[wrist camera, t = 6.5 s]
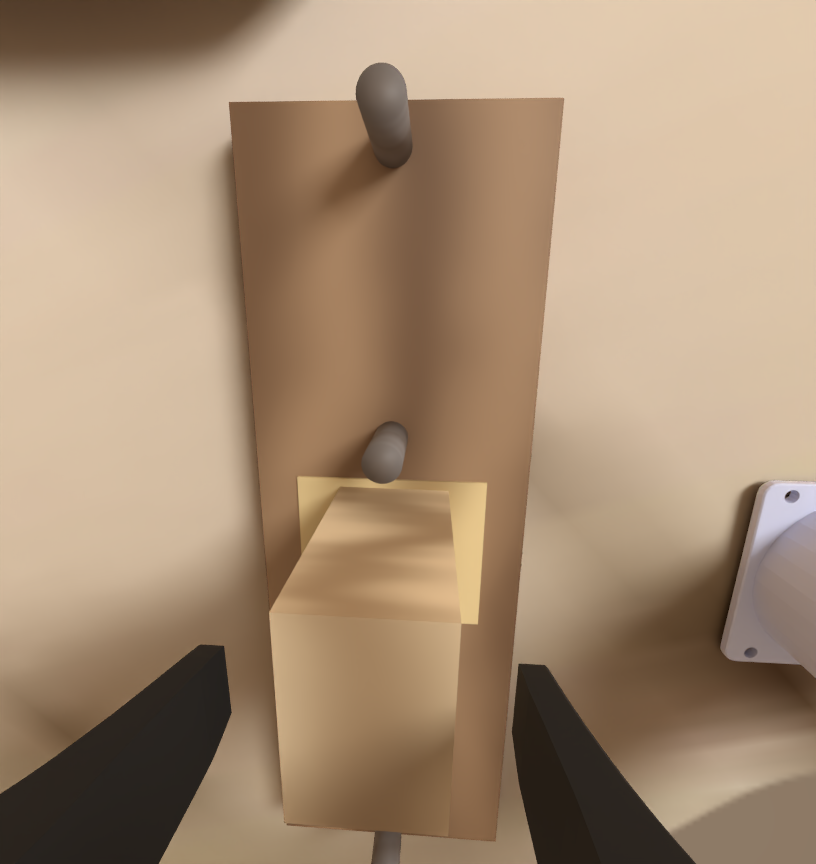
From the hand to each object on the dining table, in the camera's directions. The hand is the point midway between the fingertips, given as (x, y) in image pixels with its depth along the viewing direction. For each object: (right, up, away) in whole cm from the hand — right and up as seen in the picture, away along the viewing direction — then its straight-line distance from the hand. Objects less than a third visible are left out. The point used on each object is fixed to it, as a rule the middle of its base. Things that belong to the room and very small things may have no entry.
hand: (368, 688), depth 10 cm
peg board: (0, +2, +7) cm, 8 cm away
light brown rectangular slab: (0, +1, +6) cm, 6 cm away
